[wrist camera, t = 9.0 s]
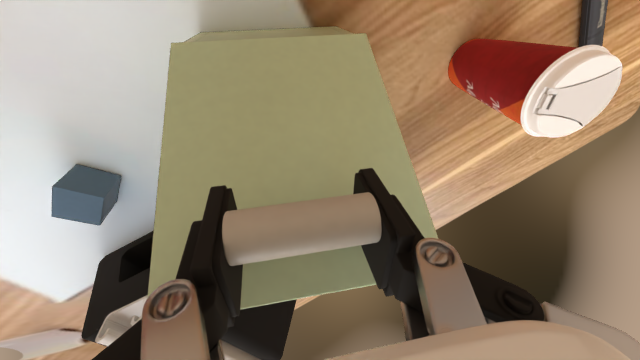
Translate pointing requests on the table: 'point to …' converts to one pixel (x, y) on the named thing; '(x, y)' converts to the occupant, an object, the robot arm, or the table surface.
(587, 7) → the usb stick
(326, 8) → the table surface
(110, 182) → the block
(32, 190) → the table surface
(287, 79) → the lid
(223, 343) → the device stand
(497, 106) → the paper cup
